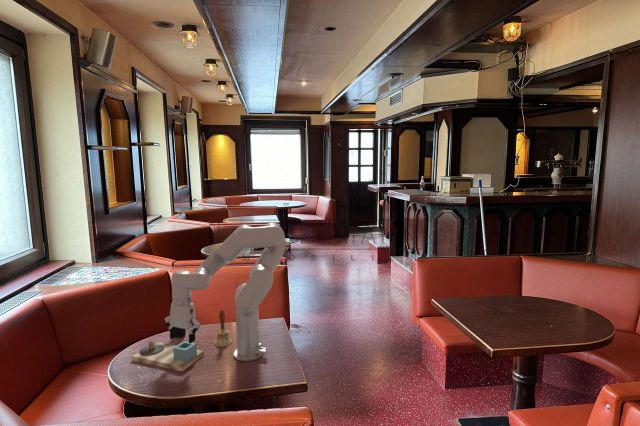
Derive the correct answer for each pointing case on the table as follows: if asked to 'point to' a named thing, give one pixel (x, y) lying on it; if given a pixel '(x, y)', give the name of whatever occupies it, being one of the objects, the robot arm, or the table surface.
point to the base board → (163, 356)
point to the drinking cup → (180, 332)
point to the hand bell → (222, 333)
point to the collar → (185, 351)
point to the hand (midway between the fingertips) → (182, 340)
